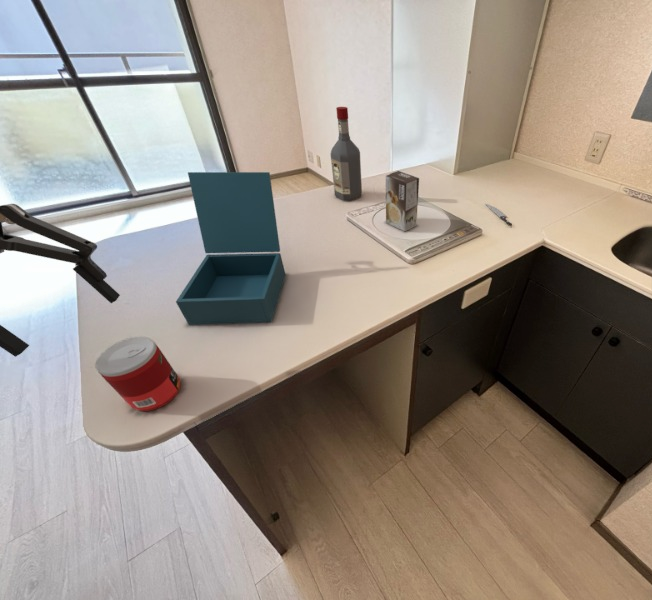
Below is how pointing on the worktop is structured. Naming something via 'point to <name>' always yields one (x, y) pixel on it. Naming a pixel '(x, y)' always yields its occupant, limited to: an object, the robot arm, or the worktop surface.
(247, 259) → the cool box
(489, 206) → the chef's knife
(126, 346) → the canned food
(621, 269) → the worktop surface
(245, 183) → the cooler lid
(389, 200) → the coffee box
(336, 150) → the liquor
